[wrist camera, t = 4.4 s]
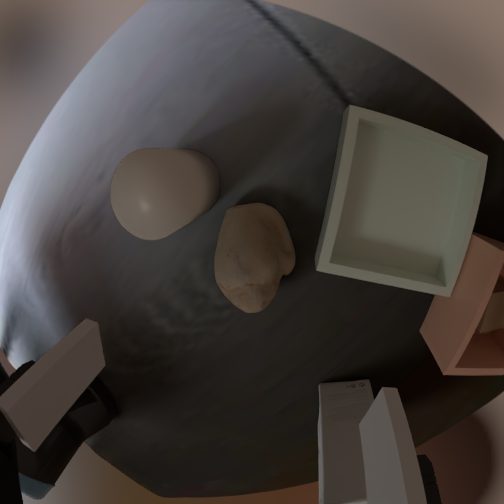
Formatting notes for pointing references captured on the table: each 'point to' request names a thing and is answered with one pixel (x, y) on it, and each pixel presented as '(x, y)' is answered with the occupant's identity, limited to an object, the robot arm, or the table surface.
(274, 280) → the stone
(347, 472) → the skincare box
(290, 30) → the table surface
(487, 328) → the walnut block
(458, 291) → the pink open box
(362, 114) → the green dish
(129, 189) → the beige rounded capsule
